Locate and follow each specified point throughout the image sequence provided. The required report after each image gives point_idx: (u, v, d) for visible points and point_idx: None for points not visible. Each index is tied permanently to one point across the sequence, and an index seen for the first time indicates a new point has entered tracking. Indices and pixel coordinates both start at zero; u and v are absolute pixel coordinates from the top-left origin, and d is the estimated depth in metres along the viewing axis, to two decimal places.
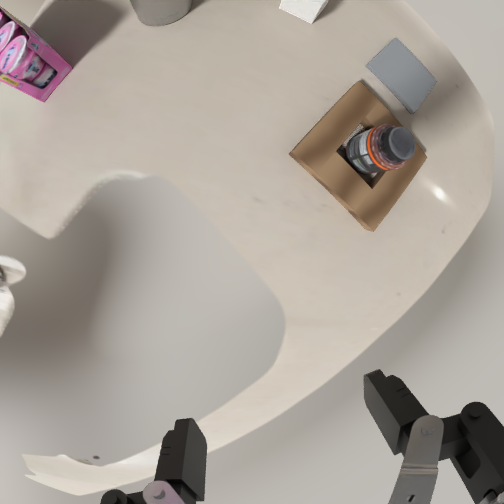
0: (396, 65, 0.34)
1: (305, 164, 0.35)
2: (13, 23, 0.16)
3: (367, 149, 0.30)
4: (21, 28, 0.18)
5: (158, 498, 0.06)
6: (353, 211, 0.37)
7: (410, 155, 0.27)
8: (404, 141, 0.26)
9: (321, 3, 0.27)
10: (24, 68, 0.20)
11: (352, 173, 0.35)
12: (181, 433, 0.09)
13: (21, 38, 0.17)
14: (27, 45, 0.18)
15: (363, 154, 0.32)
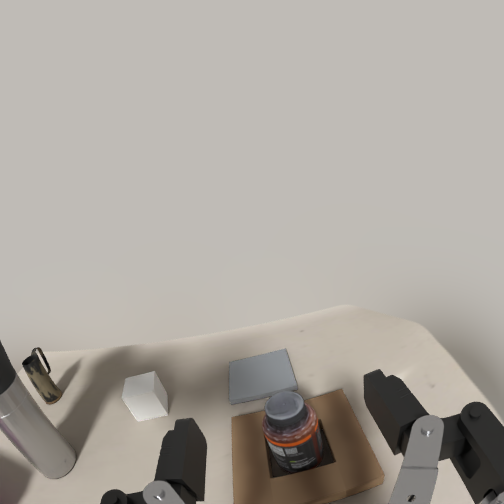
0: (249, 377, 0.44)
1: None
2: None
3: (277, 446, 0.23)
4: None
5: (158, 498, 0.06)
6: (347, 491, 0.19)
7: (300, 402, 0.24)
8: (283, 402, 0.25)
9: (152, 389, 0.38)
10: None
11: (304, 474, 0.22)
12: (181, 433, 0.09)
13: None
14: None
15: (284, 453, 0.23)
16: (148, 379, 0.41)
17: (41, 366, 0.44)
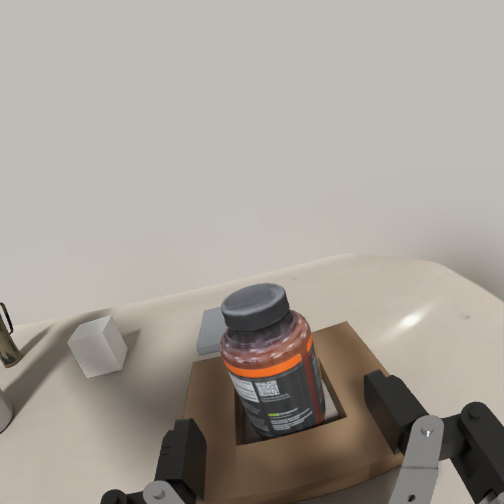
0: None
1: (209, 501, 0.11)
2: None
3: (243, 378, 0.15)
4: None
5: (158, 498, 0.06)
6: (370, 466, 0.11)
7: (279, 291, 0.16)
8: (251, 294, 0.17)
9: (101, 331, 0.30)
10: None
11: (294, 440, 0.14)
12: (181, 433, 0.09)
13: None
14: None
15: (257, 396, 0.15)
16: (102, 322, 0.33)
17: (1, 321, 0.36)
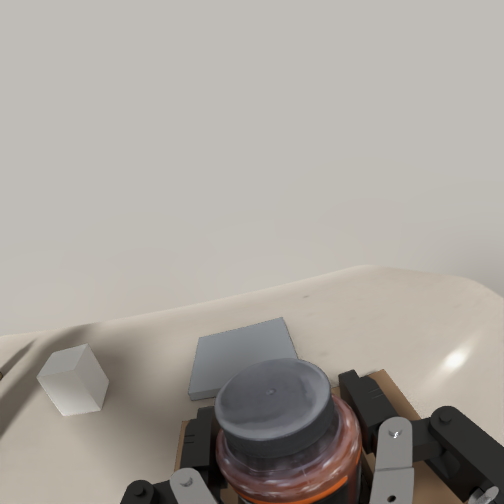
0: (224, 358, 0.28)
1: None
2: None
3: (253, 503, 0.07)
4: None
5: (186, 485, 0.07)
6: None
7: (320, 385, 0.08)
8: (267, 387, 0.09)
9: (73, 367, 0.22)
10: None
11: None
12: (204, 421, 0.10)
13: None
14: None
15: None
16: (76, 354, 0.25)
17: None
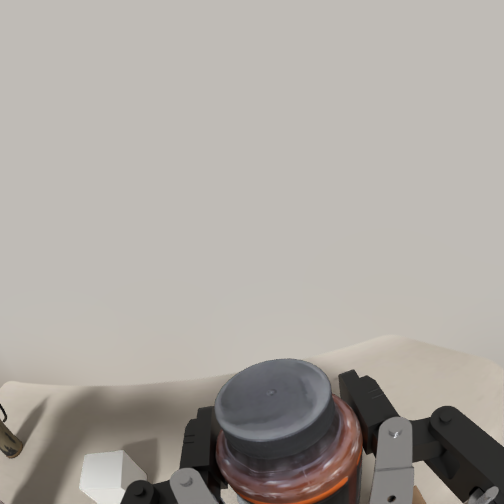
0: None
1: None
2: None
3: None
4: None
5: (186, 486, 0.07)
6: None
7: (321, 385, 0.08)
8: (268, 387, 0.09)
9: (119, 484, 0.18)
10: None
11: None
12: (205, 421, 0.10)
13: None
14: None
15: None
16: (114, 464, 0.21)
17: None
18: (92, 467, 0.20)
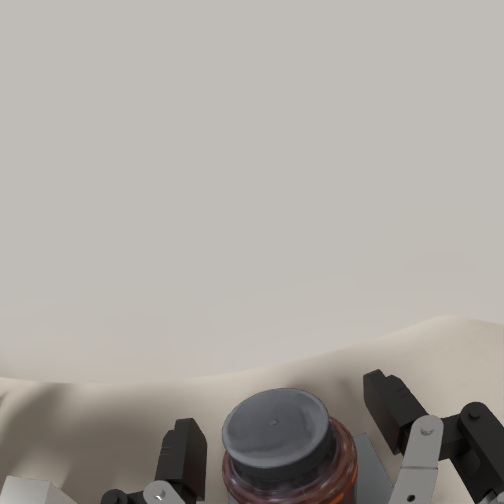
0: None
1: None
2: None
3: None
4: None
5: (158, 498, 0.06)
6: None
7: (319, 417, 0.08)
8: (271, 417, 0.09)
9: None
10: None
11: None
12: (181, 433, 0.09)
13: None
14: None
15: None
16: (36, 500, 0.08)
17: None
18: (10, 497, 0.07)
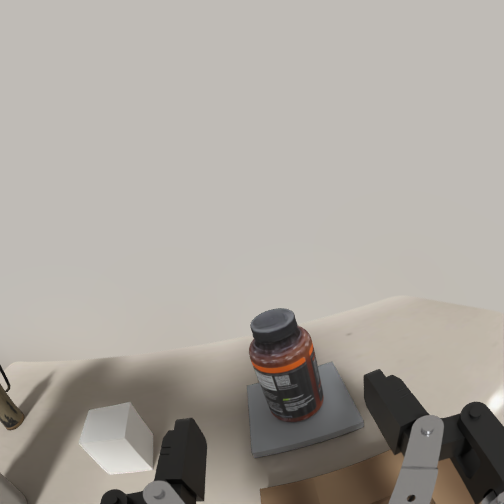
0: None
1: None
2: None
3: (266, 374, 0.23)
4: None
5: (158, 498, 0.06)
6: None
7: (290, 315, 0.23)
8: (271, 317, 0.24)
9: (123, 435, 0.20)
10: None
11: None
12: (181, 433, 0.09)
13: None
14: None
15: (275, 386, 0.23)
16: (120, 416, 0.23)
17: None
18: (95, 421, 0.22)
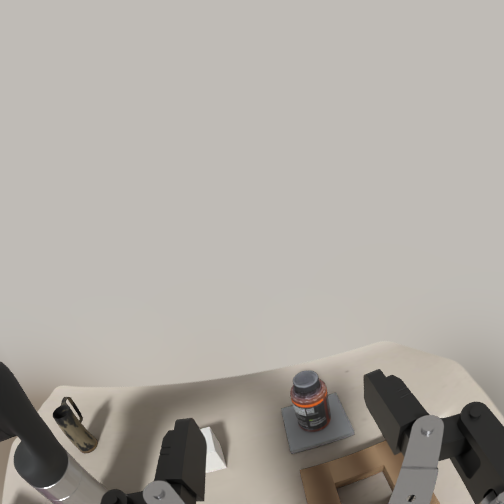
0: None
1: None
2: None
3: (301, 407, 0.38)
4: None
5: (158, 498, 0.06)
6: None
7: (316, 376, 0.39)
8: (304, 377, 0.39)
9: (213, 449, 0.35)
10: None
11: None
12: (181, 433, 0.09)
13: None
14: None
15: (305, 413, 0.38)
16: (205, 437, 0.38)
17: (74, 418, 0.41)
18: None
